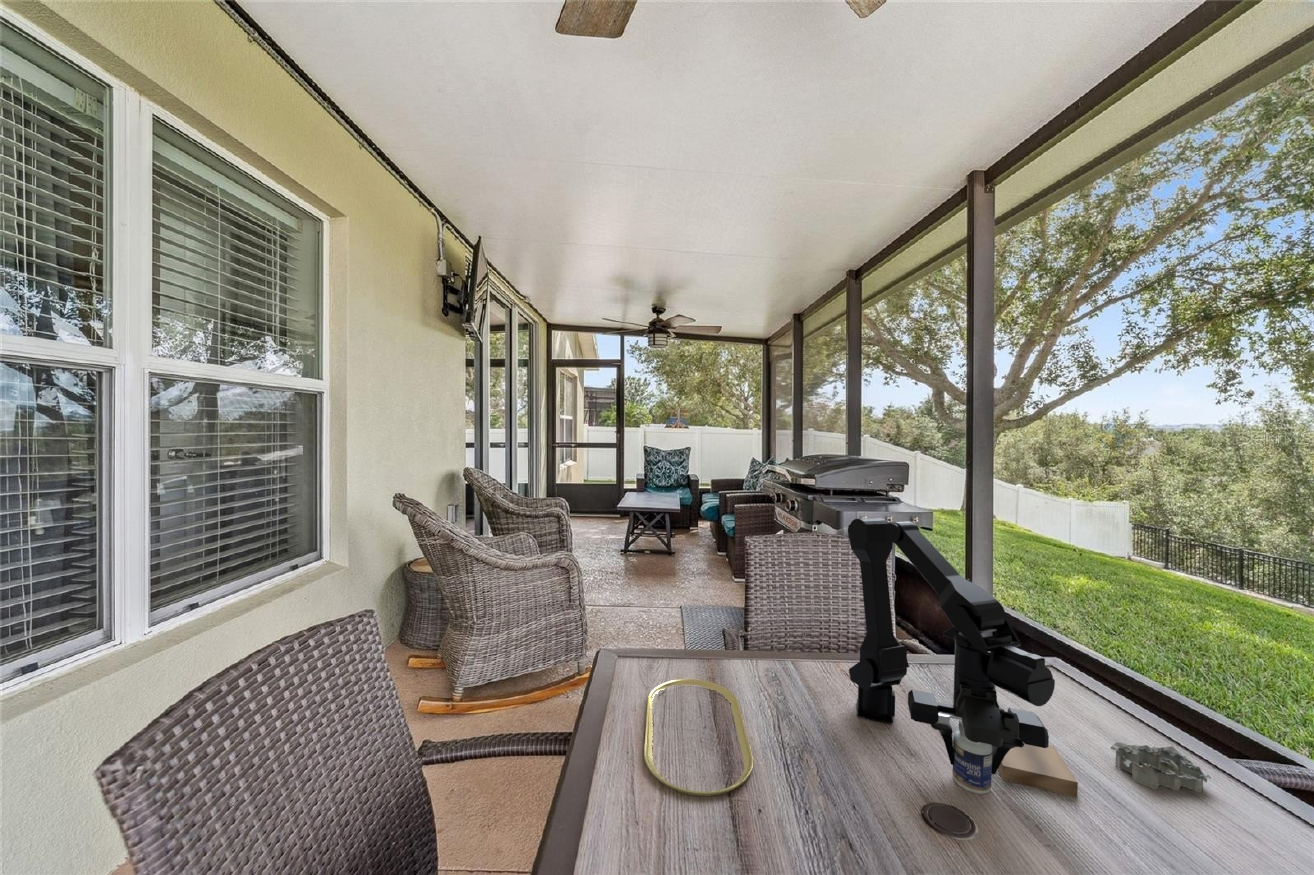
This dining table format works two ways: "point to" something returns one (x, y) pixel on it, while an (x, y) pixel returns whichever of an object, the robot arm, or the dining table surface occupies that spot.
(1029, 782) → the tan slab
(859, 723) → the dining table surface
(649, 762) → the oval ring
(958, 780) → the pill bottle
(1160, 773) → the egg carton
